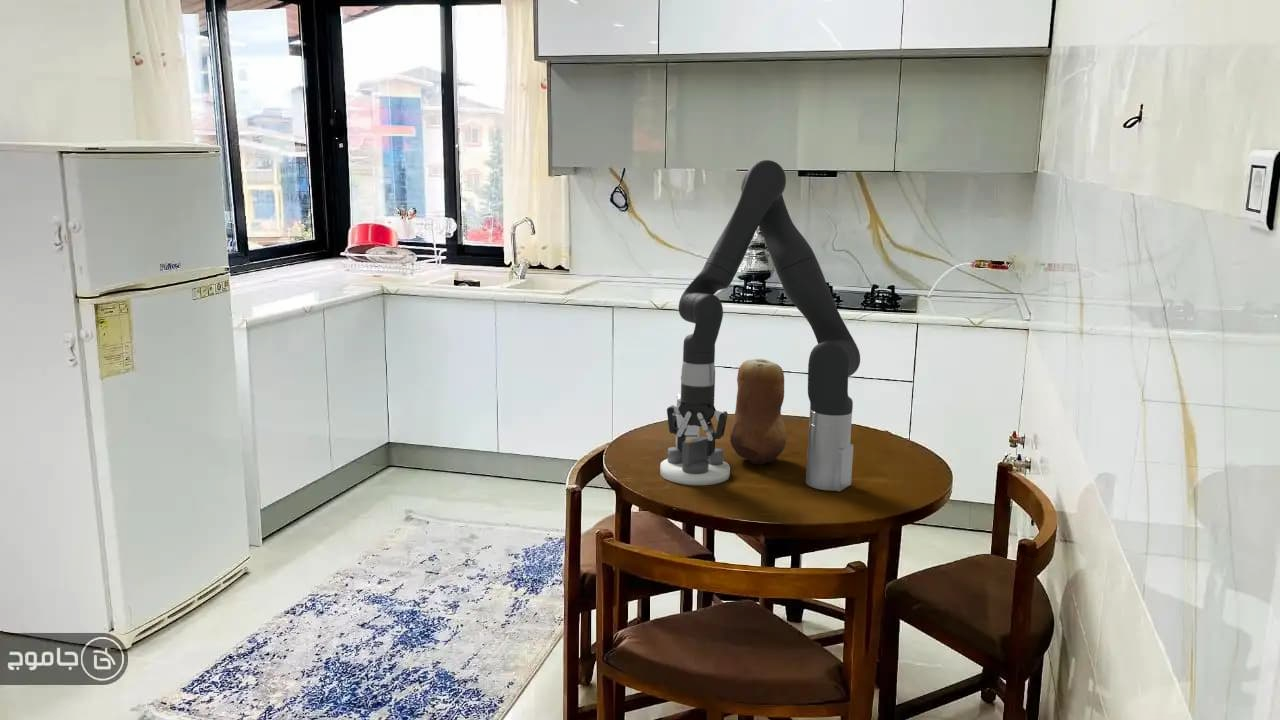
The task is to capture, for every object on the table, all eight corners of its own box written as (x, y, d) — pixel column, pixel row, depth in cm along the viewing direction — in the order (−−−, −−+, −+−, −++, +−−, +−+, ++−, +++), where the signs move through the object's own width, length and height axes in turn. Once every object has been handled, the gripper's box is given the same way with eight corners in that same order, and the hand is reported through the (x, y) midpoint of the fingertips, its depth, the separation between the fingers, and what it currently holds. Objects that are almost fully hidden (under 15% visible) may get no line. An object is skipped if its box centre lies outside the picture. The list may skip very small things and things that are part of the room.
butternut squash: (791, 457, 233) (797, 358, 228) (776, 473, 221) (781, 368, 216) (738, 450, 239) (742, 352, 234) (720, 464, 227) (723, 362, 222)
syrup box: (699, 456, 233) (701, 398, 230) (675, 455, 233) (676, 398, 230) (698, 449, 238) (700, 393, 236) (674, 448, 239) (676, 392, 236)
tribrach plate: (742, 472, 221) (743, 452, 220) (705, 490, 208) (705, 468, 207) (685, 459, 230) (686, 439, 229) (646, 475, 217) (646, 454, 216)
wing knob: (695, 463, 220) (696, 433, 218) (715, 469, 215) (716, 438, 214) (675, 469, 215) (675, 438, 213) (694, 476, 211) (695, 444, 209)
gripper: (733, 381, 212) (730, 453, 215) (673, 374, 217) (671, 445, 220) (724, 388, 205) (721, 462, 208) (661, 381, 210) (660, 454, 214)
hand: (695, 453), depth 214 cm, fingers open, 6 cm apart
